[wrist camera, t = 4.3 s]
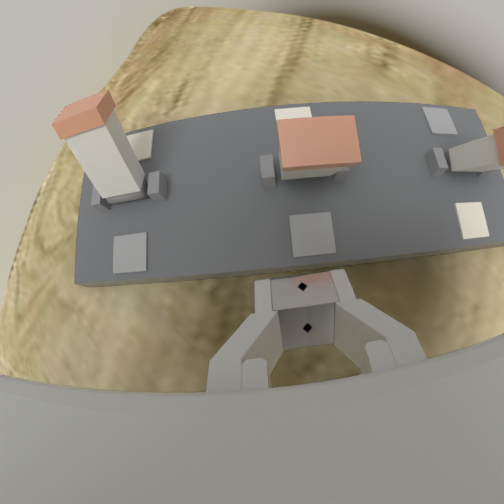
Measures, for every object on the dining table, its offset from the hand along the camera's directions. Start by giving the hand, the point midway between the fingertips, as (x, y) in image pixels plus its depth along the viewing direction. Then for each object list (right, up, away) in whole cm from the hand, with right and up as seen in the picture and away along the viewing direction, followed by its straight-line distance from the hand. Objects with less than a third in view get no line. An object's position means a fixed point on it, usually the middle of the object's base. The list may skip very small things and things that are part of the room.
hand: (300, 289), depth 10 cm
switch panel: (+2, +6, +11) cm, 13 cm away
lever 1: (-10, +5, +9) cm, 15 cm away
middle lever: (+2, +7, +8) cm, 11 cm away
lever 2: (+14, +8, +7) cm, 17 cm away
